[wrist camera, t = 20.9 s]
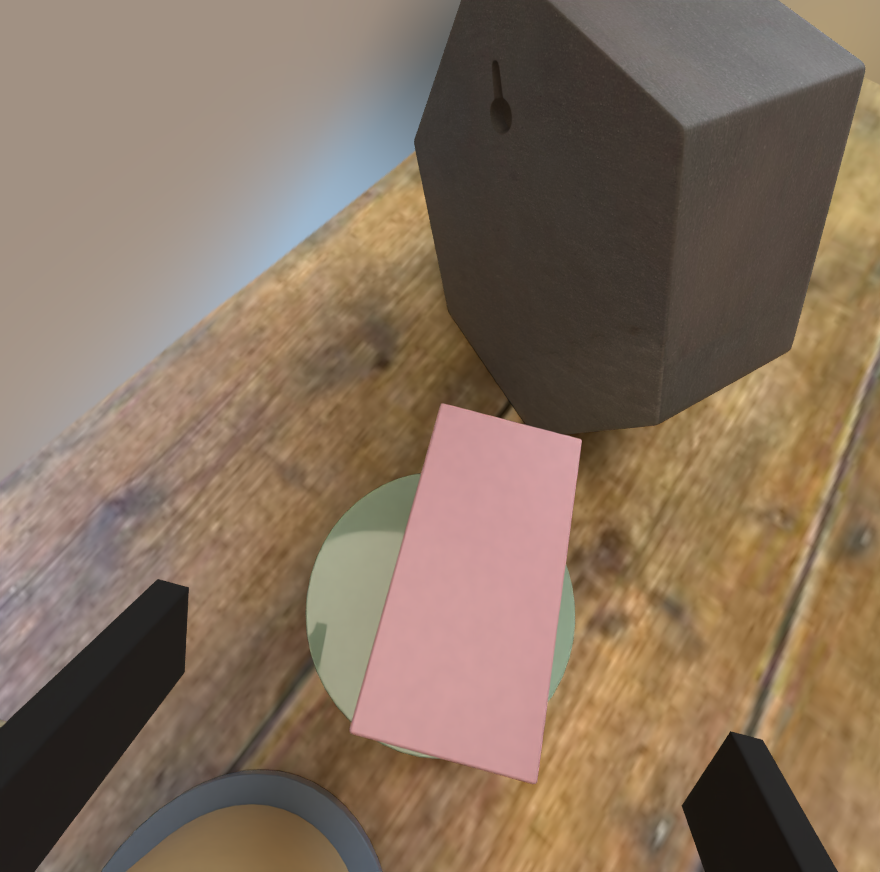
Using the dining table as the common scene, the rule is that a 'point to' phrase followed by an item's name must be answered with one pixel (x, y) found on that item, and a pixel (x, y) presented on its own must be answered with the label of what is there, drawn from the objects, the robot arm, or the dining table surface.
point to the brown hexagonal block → (630, 195)
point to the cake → (249, 830)
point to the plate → (376, 594)
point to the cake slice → (475, 598)
